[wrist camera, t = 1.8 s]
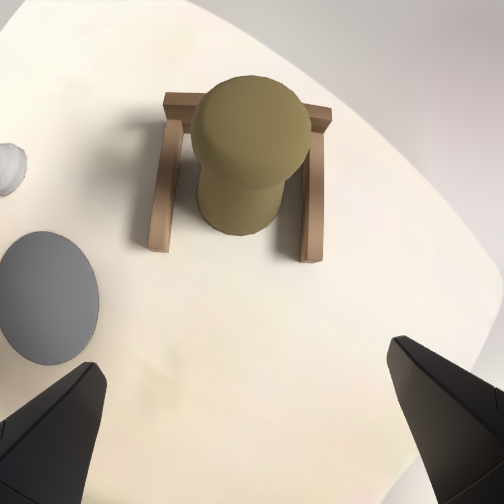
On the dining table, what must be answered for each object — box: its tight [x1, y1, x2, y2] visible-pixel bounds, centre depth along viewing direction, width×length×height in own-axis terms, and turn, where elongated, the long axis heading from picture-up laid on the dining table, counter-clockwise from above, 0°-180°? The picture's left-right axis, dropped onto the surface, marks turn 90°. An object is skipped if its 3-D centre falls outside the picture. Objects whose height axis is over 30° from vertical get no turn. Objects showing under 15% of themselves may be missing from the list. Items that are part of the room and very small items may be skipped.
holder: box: [148, 92, 332, 263], centre depth 20 cm, size 10×11×4 cm
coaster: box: [0, 232, 99, 365], centre depth 20 cm, size 10×10×1 cm
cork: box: [190, 75, 311, 236], centre depth 17 cm, size 6×6×11 cm
